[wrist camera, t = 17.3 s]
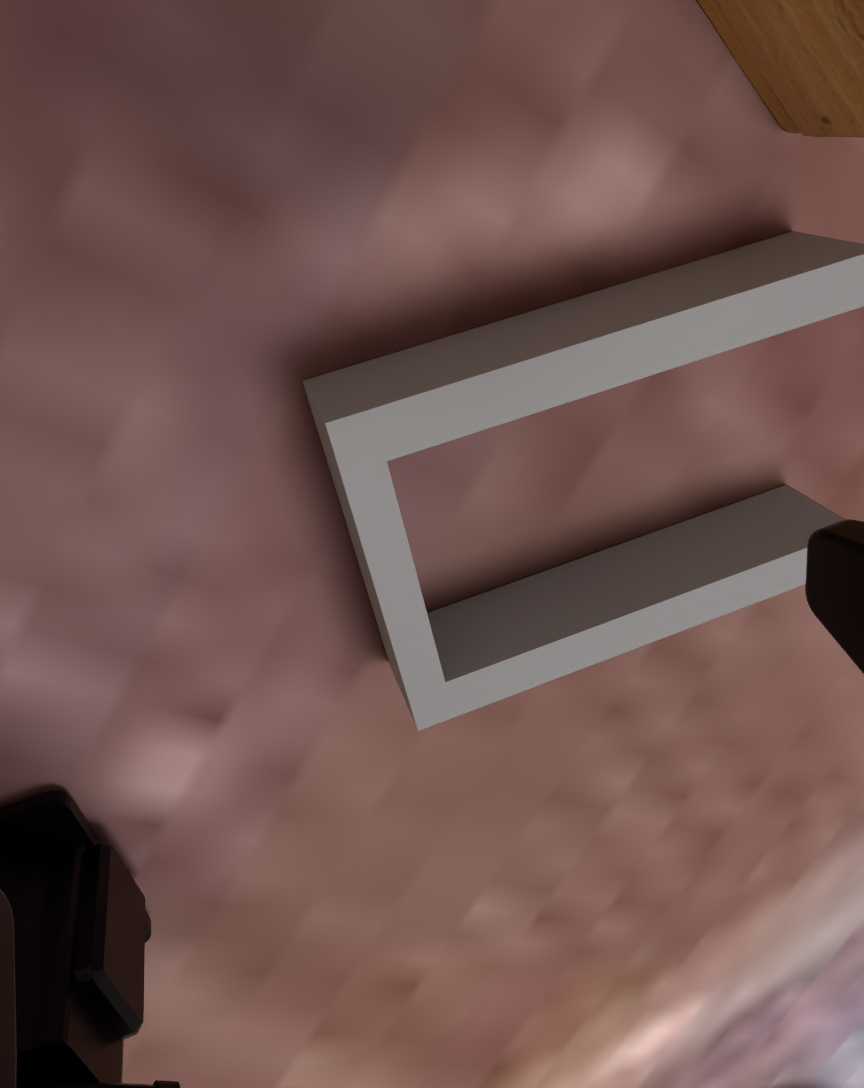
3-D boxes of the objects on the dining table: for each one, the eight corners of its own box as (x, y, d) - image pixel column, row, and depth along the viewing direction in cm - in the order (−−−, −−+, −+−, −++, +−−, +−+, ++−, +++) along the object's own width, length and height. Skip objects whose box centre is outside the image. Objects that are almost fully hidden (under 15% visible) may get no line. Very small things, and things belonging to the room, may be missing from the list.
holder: (389, 662, 23) (417, 730, 20) (302, 380, 18) (325, 423, 16) (785, 518, 25) (856, 564, 22) (793, 231, 20) (883, 248, 18)
